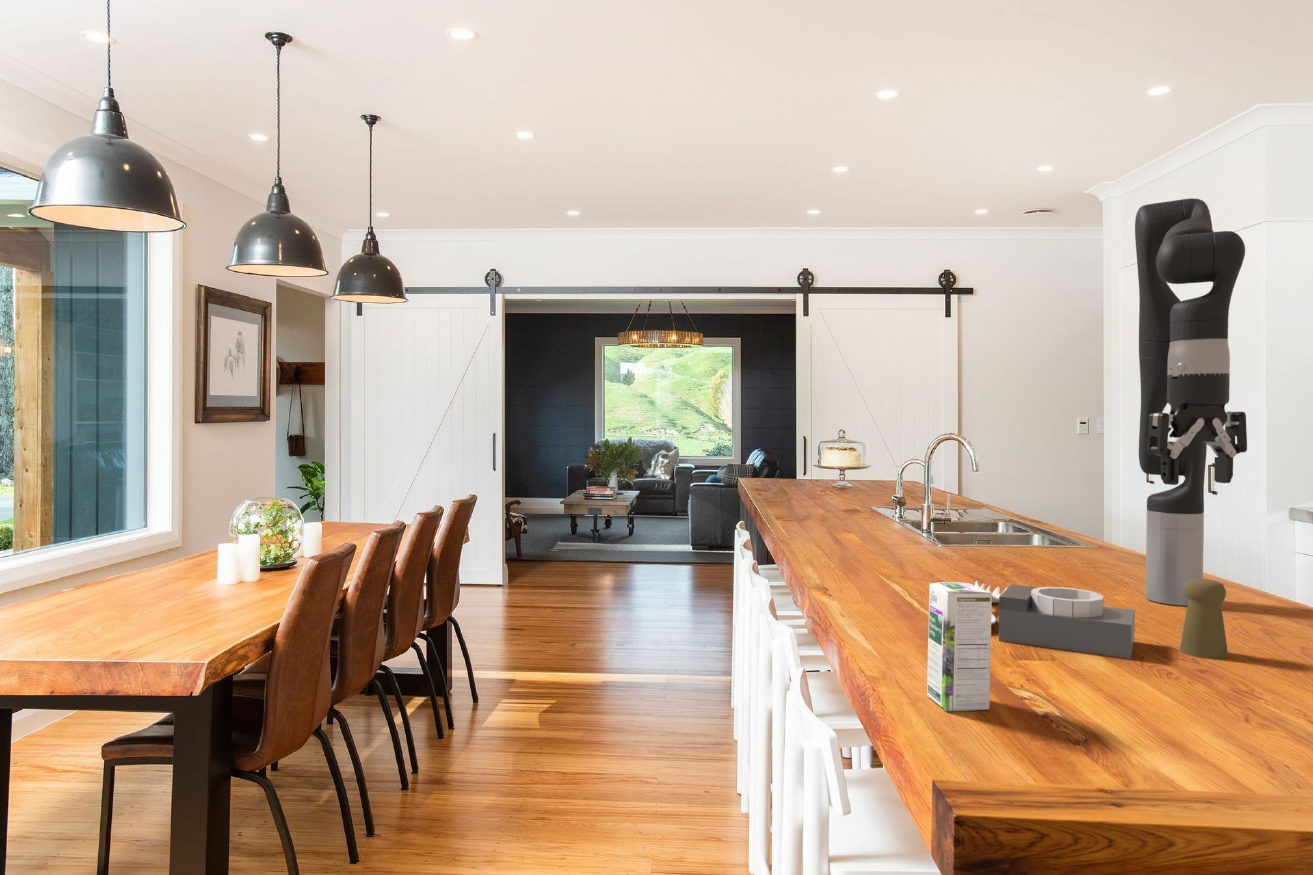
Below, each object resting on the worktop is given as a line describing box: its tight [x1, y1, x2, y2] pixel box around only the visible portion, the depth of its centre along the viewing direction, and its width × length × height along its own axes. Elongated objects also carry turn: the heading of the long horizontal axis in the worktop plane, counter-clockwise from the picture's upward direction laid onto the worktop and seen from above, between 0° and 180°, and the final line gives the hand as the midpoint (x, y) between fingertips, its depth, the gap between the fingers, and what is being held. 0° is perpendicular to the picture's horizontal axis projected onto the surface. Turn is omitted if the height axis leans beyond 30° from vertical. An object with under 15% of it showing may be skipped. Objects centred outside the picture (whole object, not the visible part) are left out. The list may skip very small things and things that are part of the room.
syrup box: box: [926, 581, 993, 712], centre depth 100 cm, size 6×6×14 cm
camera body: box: [998, 584, 1136, 660], centre depth 127 cm, size 11×18×8 cm, turn 57°
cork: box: [1179, 578, 1229, 660], centre depth 121 cm, size 6×6×11 cm
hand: (1196, 483), depth 118 cm, fingers open, 8 cm apart
